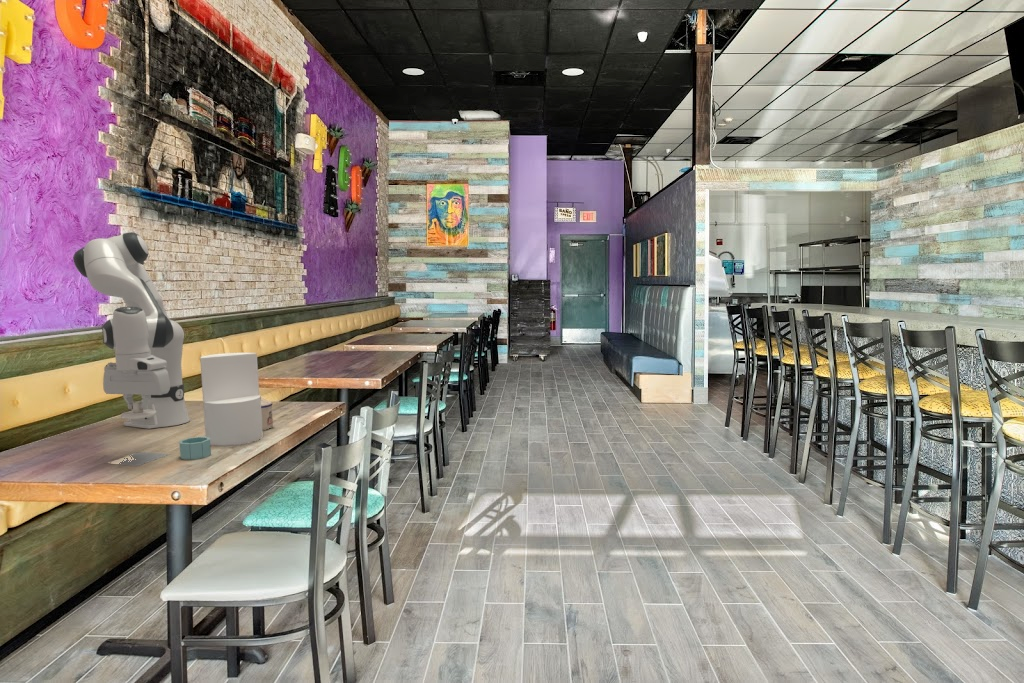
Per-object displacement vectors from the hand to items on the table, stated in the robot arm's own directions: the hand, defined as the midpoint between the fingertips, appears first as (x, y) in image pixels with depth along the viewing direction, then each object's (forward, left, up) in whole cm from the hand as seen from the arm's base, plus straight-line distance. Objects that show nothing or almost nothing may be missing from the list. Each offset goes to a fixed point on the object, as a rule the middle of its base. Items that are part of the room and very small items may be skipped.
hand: (138, 409), depth 180 cm
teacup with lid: (+10, +41, -15) cm, 45 cm away
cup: (+14, +5, -15) cm, 21 cm away
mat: (-1, -1, -15) cm, 15 cm away
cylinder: (+12, +25, -15) cm, 32 cm away
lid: (0, 0, -2) cm, 2 cm away
